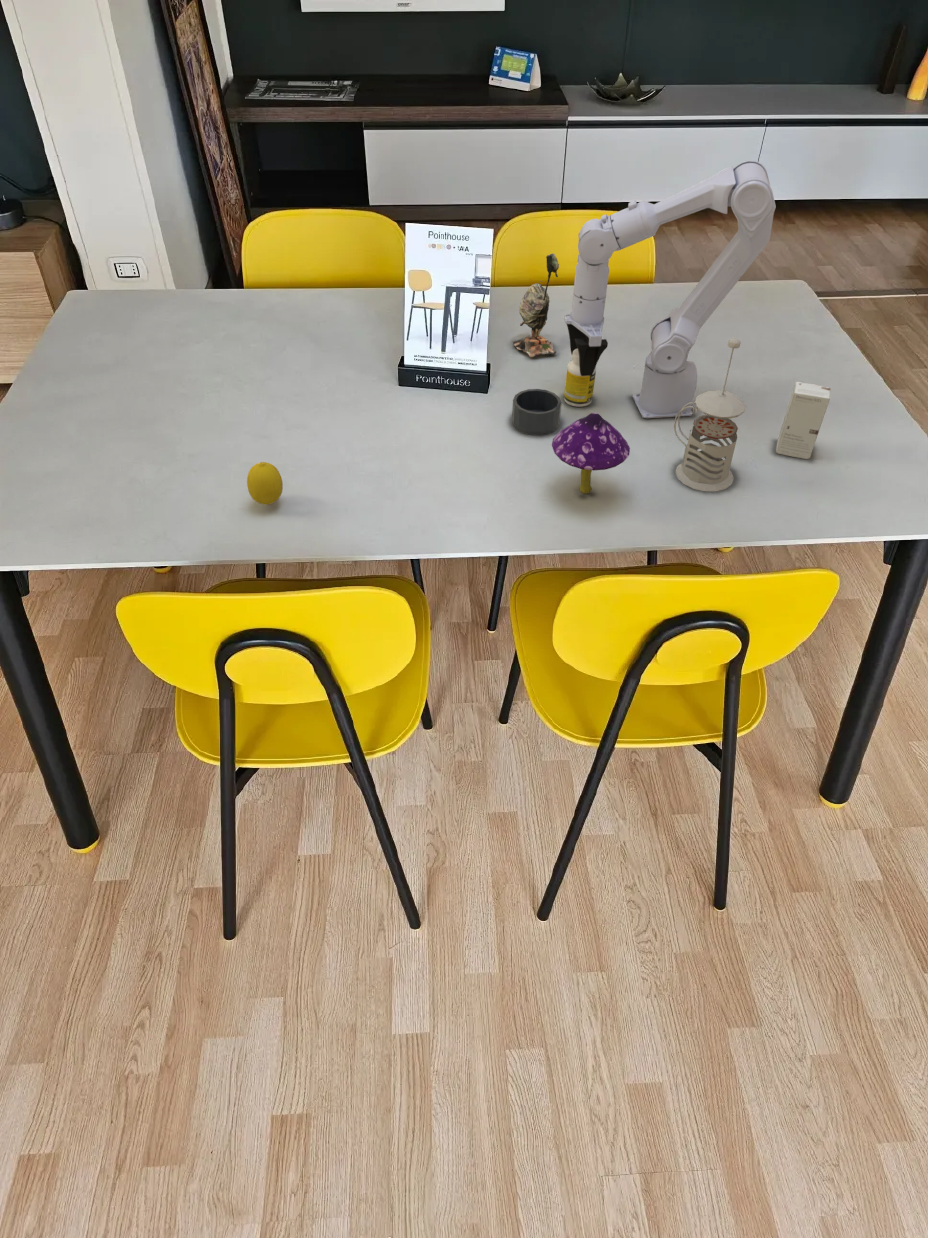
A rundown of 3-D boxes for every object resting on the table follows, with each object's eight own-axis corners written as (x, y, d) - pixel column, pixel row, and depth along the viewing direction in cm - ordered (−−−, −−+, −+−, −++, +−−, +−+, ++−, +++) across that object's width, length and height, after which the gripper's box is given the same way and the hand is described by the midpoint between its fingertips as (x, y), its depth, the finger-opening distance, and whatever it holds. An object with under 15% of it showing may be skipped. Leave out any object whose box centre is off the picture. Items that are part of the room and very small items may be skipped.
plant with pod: (545, 332, 199) (553, 237, 185) (558, 358, 191) (568, 260, 177) (508, 335, 198) (512, 239, 184) (519, 361, 190) (525, 263, 176)
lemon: (252, 495, 155) (245, 453, 150) (286, 493, 156) (280, 452, 150) (249, 515, 151) (242, 473, 146) (284, 514, 152) (278, 472, 146)
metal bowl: (553, 409, 177) (555, 387, 174) (563, 434, 170) (565, 412, 167) (508, 411, 176) (509, 390, 173) (516, 436, 169) (517, 414, 166)
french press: (721, 498, 157) (755, 360, 140) (656, 476, 161) (682, 339, 144) (741, 470, 163) (777, 334, 146) (678, 449, 167) (705, 315, 150)
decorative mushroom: (634, 508, 154) (648, 428, 144) (563, 520, 152) (572, 440, 141) (605, 466, 163) (616, 388, 153) (536, 477, 160) (543, 398, 150)
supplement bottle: (590, 409, 177) (596, 361, 170) (561, 405, 178) (566, 358, 171) (593, 394, 181) (599, 347, 174) (565, 391, 181) (570, 344, 175)
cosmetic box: (775, 454, 167) (792, 392, 158) (776, 441, 170) (794, 380, 162) (811, 460, 165) (830, 399, 157) (812, 447, 169) (831, 386, 160)
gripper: (558, 276, 170) (552, 346, 179) (576, 312, 159) (568, 385, 168) (597, 275, 170) (588, 345, 180) (617, 311, 160) (607, 383, 169)
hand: (581, 364), depth 174 cm, fingers open, 7 cm apart
